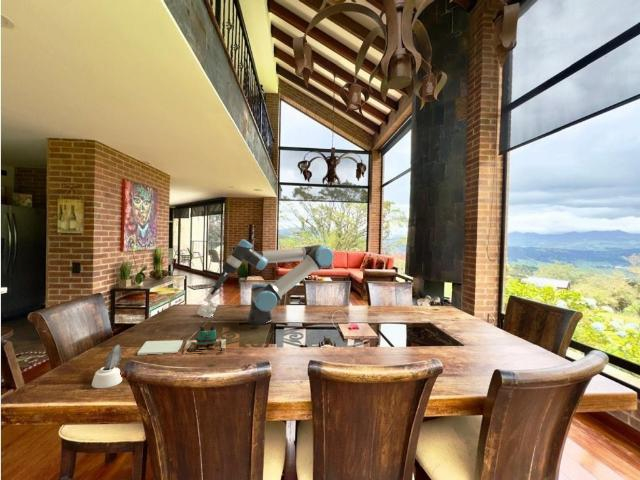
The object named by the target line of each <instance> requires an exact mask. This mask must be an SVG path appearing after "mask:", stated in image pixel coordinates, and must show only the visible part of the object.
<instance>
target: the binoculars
mask: <svg viewBox="0 0 640 480" xmlns="http://www.w3.org/2000/svg"><path fill="white" fill-rule="evenodd" d="M205 327H206V326H203V325H200V326H199V330H198V332H197V337H196V338H195V339H194V340H196V341H197V343H196V346H197V347H198V350H199V349H205V348H206V347H205V345H207V346H208V349H209V348H214V349H215V348H216V345H215V344H216V343H217V342H216V339H217V330H216V329H215V328H216V327H215V324H212V325H210V326H209V329H208V330H206V329H205Z"/></svg>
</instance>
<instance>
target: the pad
mask: <svg viewBox="0 0 640 480" xmlns="http://www.w3.org/2000/svg"><path fill="white" fill-rule="evenodd" d="M183 343H184V341H183V339H182V340H181V339H179V340H177V339H176V340H146V341H145V342H144V343H143V345H142V346H141V348H140V349H138V351H137V354H136V355H137V356H148V355H147V354H158V355H164V354H163V353H173V352H178V350H179V349H180V350H181V348H182V345H183ZM180 350H179V351H180ZM178 353H179V352H178Z"/></svg>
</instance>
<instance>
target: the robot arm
mask: <svg viewBox="0 0 640 480" xmlns="http://www.w3.org/2000/svg"><path fill="white" fill-rule="evenodd" d="M253 247H254V245H253V244H252V243H251V242H249V241H248V240H246V239H244V238H243V239H240V241H239V242H238V244H237V245H236V246H235V247H234V249H233V250H232V252H231V253H230V254H229V255H227V259H226V261H225V262H224V263H223V264H222V269H224V270H223V271H222V272H221V274H220V275H219V277H218V280H217V281H216V282H215V283H214V285H212V286H211V290H210V291H209V292H208V294H207V295H206V297H205V298H206V299H208V300H209V301H212V299H213V297H214V296H215V294H216V293H217V292H218V290H219V289H220V288H221V286H222V284H223V283H224V282H225V281H226V280H227V279H228V278H229V274H232V275H234V274H235V273H236V272H237V269H238V268H240V266H241V264H242V263H243V262H244V261H245V262H247V263H248V264H250V265H251V266H253V267H255V269H257V270H259V271H262V270H264V269H265V268H266V267H267V265H268V264H273V263H274V264H275V263H287V262H289V263H290V262H300V263H299V264H297V265H296V266H295V267H293V268H292V269H291V270H289V271H288V272H286V273H285V274H284V275H283V276H281V277H280V278H278V279H277V280H276V281H274V282H273V283H271V282H269V283H253V284H252V285H251V289H250V291H251V292H250V309H249V312H248V315H247V317H246V322H247V323H248V324H250V325H266V324H265V323H266V322H268V321H270V320H272V321H273V317H272V313H271V311H272V310H273V309H275V308H276V306H277V303H278V302H280V301H281V300H283V299H282V298H283V296H284V295H285V294H286V293H287V292H289V291H290V290H291V289H293V288H294V287H295V286H297V284H299V283H300V282H301V281H303V280H304V279H305V278H306V277H308V276H309V275H311V274H312V273H313V272H314V271H317V272H319V271H320V270H321V269H322V268H324V267H328V266H330V265H331V264H332V263H333V261H334V256H335V255H334V252H333V250H332V248H330V247H329V246H327V245H320V244H315V245H309V246H302V247H301V248H294V249H293V248H291V249H277V250H275V249H274V250H261V251H260V250H259V251H255V250H254V249H253Z"/></svg>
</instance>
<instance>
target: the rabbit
mask: <svg viewBox="0 0 640 480" xmlns="http://www.w3.org/2000/svg"><path fill="white" fill-rule="evenodd" d="M203 301H204V302H207V303H203V304H201V305H200V306H199V308H198V310H197V315H199V316H200V317H201V316H203V317H202V318H205V317H208V318H212V317H214V316H213V315H214V313H215V312H216V310H217V309H216V308H217V307H218V303H217V301H212V300H210V301H209V300H208V299H206V297H204V299H203ZM211 316H212V317H211Z"/></svg>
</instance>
